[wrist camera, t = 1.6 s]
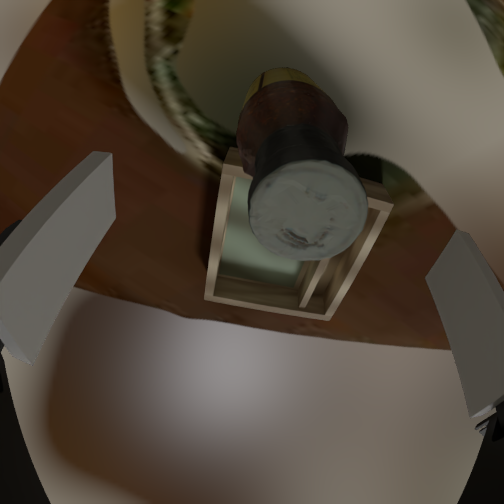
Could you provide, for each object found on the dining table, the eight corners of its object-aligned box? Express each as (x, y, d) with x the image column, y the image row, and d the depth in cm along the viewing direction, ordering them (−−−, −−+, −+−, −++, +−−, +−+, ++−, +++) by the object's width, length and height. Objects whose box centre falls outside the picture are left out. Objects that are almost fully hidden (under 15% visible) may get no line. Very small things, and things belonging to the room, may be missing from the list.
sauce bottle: (272, 140, 28) (262, 311, 13) (234, 87, 25) (159, 200, 10) (333, 109, 25) (413, 252, 10) (298, 51, 22) (347, 94, 7)
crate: (229, 146, 29) (223, 163, 26) (382, 184, 30) (393, 204, 27) (209, 276, 40) (204, 299, 37) (326, 297, 41) (329, 320, 38)
